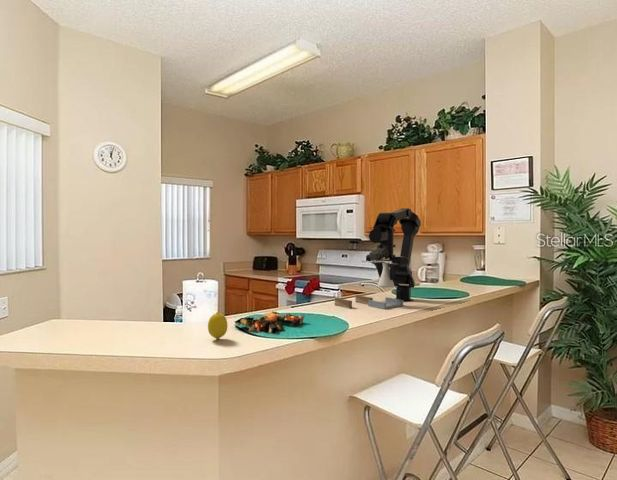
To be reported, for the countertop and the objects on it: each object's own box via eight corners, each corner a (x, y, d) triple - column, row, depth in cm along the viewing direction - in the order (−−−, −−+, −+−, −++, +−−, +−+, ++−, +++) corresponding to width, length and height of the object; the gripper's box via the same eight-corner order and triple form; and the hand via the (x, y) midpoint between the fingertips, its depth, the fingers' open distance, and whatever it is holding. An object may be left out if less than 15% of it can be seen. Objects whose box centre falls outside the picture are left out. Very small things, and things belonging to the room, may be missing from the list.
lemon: (219, 336, 120) (219, 309, 120) (231, 339, 116) (231, 312, 116) (203, 339, 116) (203, 312, 115) (215, 343, 112) (216, 315, 112)
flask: (393, 285, 173) (393, 262, 172) (395, 288, 166) (395, 264, 165) (376, 285, 173) (376, 262, 173) (377, 287, 166) (378, 263, 166)
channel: (357, 301, 179) (357, 295, 179) (372, 304, 172) (372, 297, 172) (334, 305, 170) (334, 298, 170) (349, 308, 163) (349, 301, 163)
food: (271, 337, 120) (271, 325, 120) (226, 329, 131) (226, 318, 131) (311, 323, 139) (311, 313, 139) (269, 317, 149) (269, 308, 149)
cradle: (386, 302, 177) (386, 297, 177) (403, 306, 170) (403, 300, 170) (368, 305, 169) (368, 299, 169) (384, 309, 162) (384, 303, 162)
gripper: (357, 242, 171) (356, 278, 172) (391, 243, 157) (390, 283, 157) (374, 241, 178) (374, 276, 179) (409, 243, 163) (408, 281, 164)
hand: (386, 279), depth 169 cm, fingers closed on flask, 5 cm apart
